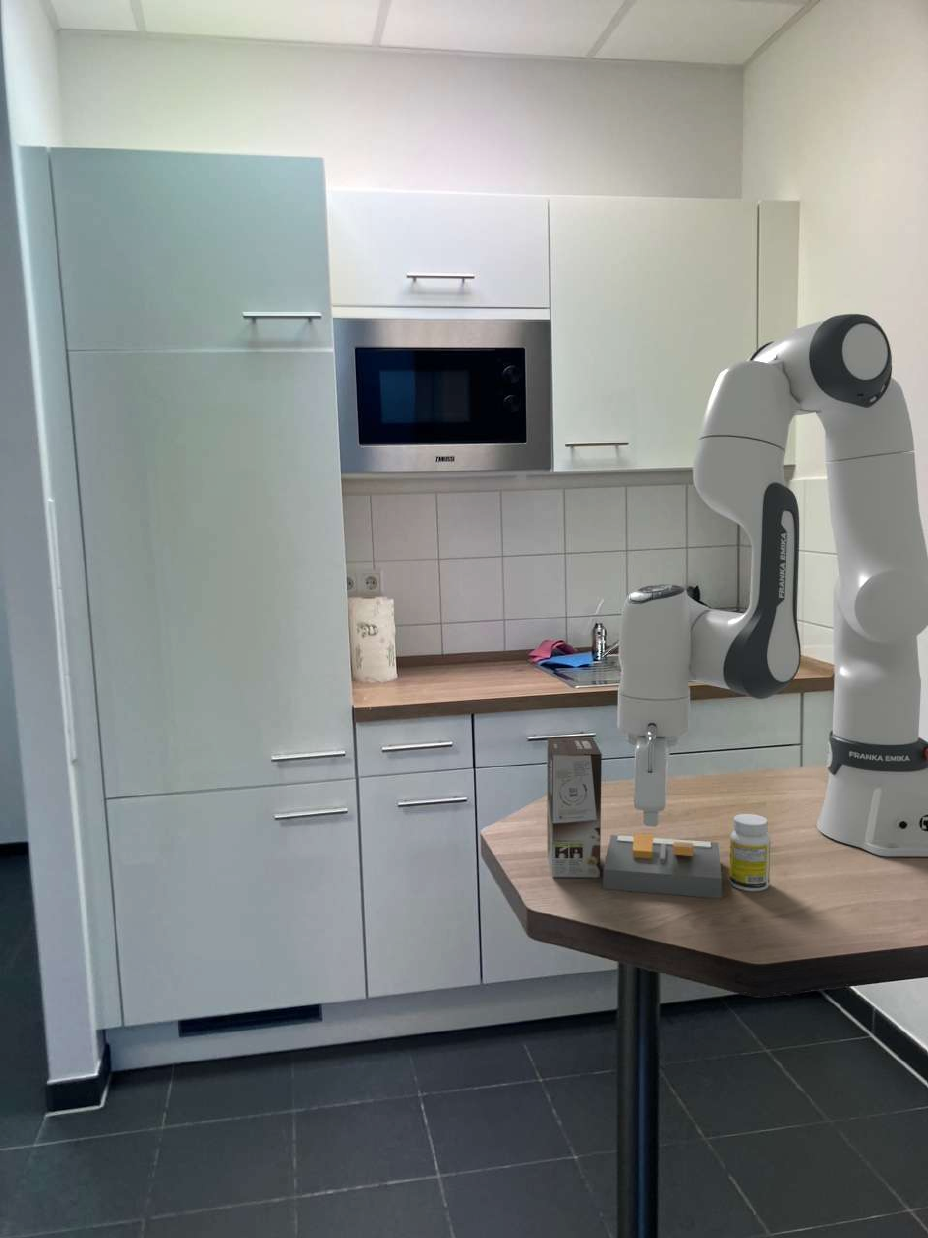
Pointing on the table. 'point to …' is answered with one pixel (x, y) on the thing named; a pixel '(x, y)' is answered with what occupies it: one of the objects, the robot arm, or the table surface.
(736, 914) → the table surface
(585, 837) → the coffee box
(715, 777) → the table surface
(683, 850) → the orange rectangular block
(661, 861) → the switch strip
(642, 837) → the paddle
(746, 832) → the supplement bottle
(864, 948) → the table surface
